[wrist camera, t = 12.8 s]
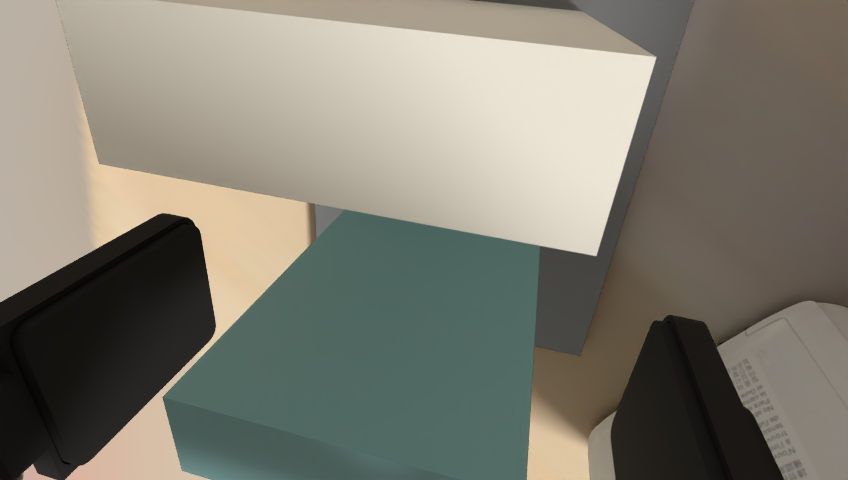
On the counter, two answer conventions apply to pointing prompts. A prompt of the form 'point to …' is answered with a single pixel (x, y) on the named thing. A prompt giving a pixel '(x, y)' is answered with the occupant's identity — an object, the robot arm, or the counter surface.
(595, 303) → the domino mat
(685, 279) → the counter surface
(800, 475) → the white rounded slab
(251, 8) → the domino
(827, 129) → the counter surface
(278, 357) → the domino
